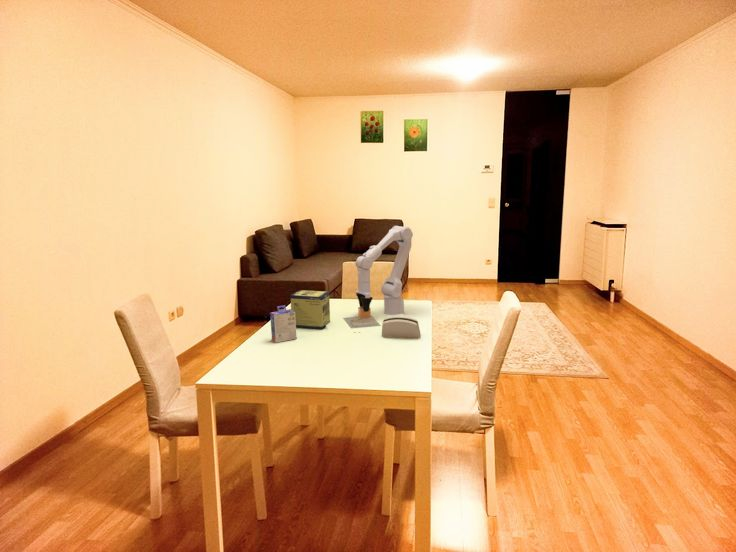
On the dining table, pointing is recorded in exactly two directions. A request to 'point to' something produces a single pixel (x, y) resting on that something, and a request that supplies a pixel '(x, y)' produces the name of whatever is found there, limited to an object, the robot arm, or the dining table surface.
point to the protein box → (311, 309)
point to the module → (364, 313)
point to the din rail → (363, 322)
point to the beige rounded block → (400, 327)
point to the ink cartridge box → (283, 324)
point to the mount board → (357, 318)
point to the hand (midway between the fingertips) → (364, 309)
